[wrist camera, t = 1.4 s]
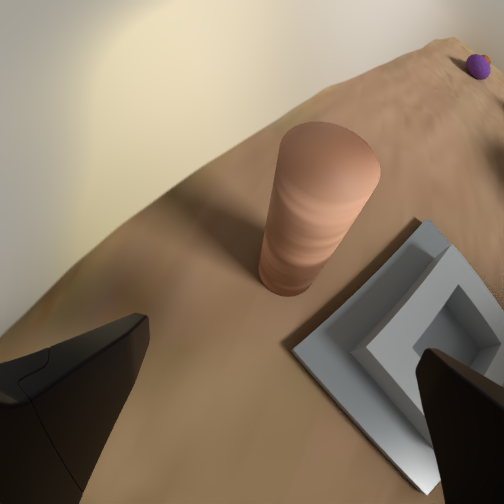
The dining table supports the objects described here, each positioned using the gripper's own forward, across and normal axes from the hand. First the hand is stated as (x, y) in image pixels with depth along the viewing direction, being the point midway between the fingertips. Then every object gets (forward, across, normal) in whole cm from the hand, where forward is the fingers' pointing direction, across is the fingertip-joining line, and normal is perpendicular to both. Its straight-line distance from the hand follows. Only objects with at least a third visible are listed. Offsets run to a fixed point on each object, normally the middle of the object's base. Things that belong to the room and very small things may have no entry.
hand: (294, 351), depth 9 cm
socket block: (+11, -15, +8) cm, 20 cm away
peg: (+15, -1, +3) cm, 16 cm away
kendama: (+54, -45, -38) cm, 80 cm away
